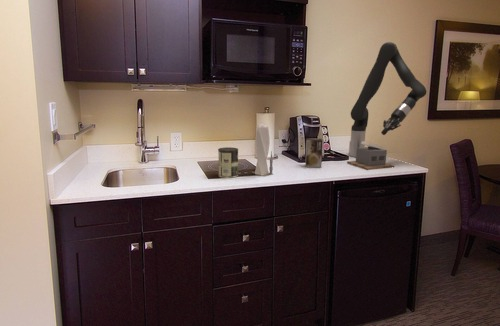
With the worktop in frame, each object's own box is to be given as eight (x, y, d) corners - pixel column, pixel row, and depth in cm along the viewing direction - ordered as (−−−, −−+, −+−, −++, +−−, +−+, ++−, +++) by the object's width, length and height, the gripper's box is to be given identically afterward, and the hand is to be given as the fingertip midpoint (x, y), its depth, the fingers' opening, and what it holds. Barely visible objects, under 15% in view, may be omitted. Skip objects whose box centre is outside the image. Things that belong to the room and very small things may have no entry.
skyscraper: (262, 177, 188) (264, 123, 182) (251, 174, 193) (252, 121, 188) (273, 174, 194) (274, 122, 188) (261, 172, 199) (262, 120, 194)
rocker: (361, 143, 217) (361, 140, 216) (375, 147, 221) (375, 144, 221) (367, 145, 211) (368, 142, 211) (382, 149, 216) (382, 146, 215)
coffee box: (320, 165, 217) (321, 138, 213) (321, 167, 211) (323, 140, 207) (304, 164, 218) (306, 138, 214) (305, 167, 211) (306, 139, 208)
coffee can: (235, 172, 196) (235, 146, 193) (240, 177, 186) (240, 150, 183) (216, 173, 193) (216, 147, 190) (220, 178, 184) (220, 151, 181)
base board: (347, 163, 223) (347, 161, 223) (373, 161, 230) (373, 159, 230) (366, 169, 207) (366, 167, 206) (394, 167, 214) (394, 165, 214)
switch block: (355, 162, 222) (356, 145, 219) (371, 160, 226) (373, 145, 224) (369, 166, 210) (370, 149, 208) (385, 164, 215) (387, 148, 213)
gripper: (390, 107, 224) (372, 128, 222) (406, 109, 212) (387, 131, 210) (396, 116, 227) (378, 136, 225) (412, 118, 215) (393, 139, 213)
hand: (382, 133), depth 217 cm, fingers closed
